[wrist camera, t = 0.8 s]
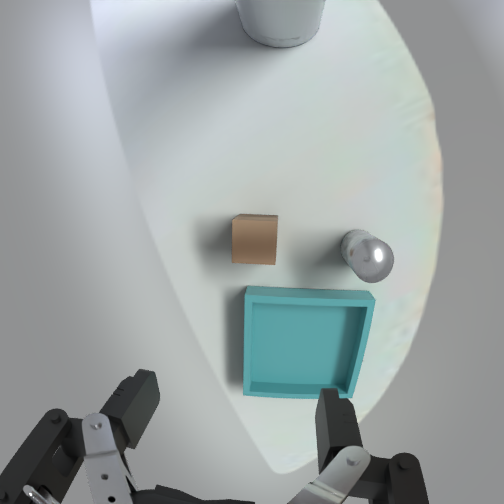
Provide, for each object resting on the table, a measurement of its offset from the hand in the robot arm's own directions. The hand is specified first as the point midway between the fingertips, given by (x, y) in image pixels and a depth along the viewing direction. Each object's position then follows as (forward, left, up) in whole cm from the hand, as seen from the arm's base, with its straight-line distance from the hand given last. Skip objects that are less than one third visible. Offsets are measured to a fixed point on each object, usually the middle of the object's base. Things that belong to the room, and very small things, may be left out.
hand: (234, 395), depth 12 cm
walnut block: (-4, -1, -20) cm, 21 cm away
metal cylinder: (-3, +10, -20) cm, 23 cm away
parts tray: (+9, +5, -20) cm, 23 cm away
